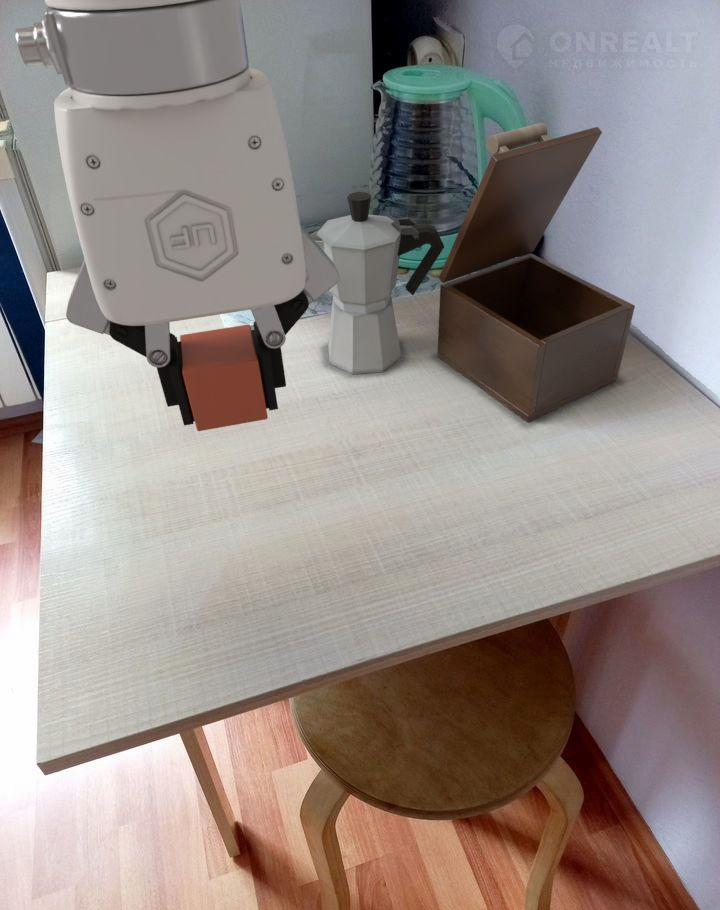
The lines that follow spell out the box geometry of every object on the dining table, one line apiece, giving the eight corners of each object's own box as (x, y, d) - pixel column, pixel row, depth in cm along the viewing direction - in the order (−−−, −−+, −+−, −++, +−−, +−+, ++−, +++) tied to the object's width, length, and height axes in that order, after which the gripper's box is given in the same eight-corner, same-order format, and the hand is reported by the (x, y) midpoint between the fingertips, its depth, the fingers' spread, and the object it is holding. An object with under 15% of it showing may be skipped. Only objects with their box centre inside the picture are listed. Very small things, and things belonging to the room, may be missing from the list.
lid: (602, 131, 64) (572, 99, 66) (497, 161, 59) (467, 125, 61) (533, 251, 78) (509, 222, 79) (442, 283, 73) (418, 251, 74)
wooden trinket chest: (617, 380, 74) (635, 305, 69) (527, 422, 69) (539, 346, 64) (521, 322, 84) (530, 252, 78) (437, 356, 79) (440, 284, 73)
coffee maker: (309, 379, 76) (294, 217, 65) (306, 337, 83) (292, 182, 71) (446, 368, 77) (455, 206, 65) (432, 327, 84) (438, 173, 72)
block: (259, 381, 43) (249, 323, 40) (268, 419, 40) (258, 360, 37) (193, 392, 42) (179, 334, 40) (197, 432, 40) (182, 372, 37)
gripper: (-81, 92, 25) (77, 472, 37) (372, 45, 28) (384, 416, 40) (-40, 51, 31) (86, 392, 43) (334, 15, 33) (355, 347, 45)
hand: (229, 401), depth 41 cm, fingers closed on block, 4 cm apart
